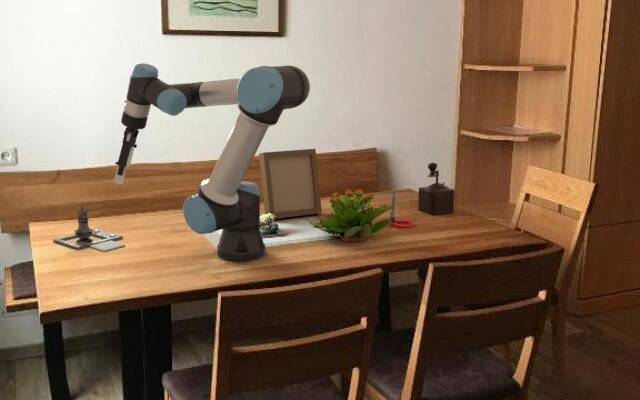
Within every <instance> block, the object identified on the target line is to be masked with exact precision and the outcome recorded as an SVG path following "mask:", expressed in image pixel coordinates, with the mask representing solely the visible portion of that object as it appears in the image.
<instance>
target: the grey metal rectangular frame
mask: <svg viewBox="0 0 640 400" xmlns="http://www.w3.org/2000/svg"><path fill="white" fill-rule="evenodd" d="M92 236H93V237H96V238H99V239H100V240H99V239H98V240H95V241H92V242H89V243H82V244H80V245H79V244H77V243H73V242H70V241H68V240H71V239H76V238H78V237H77V236H76V234H75V233H73V234H71V235H66V236H62V237H57V238H53V239H52V241H53V243H57V244H59V245H63V246H66V247H69V248H72V249H74V250H77V251H79V250H82V249H87V248H91V247H90V246H91V245H94V244H98V243H102V242H106V241H110V240H111V241H117V240H121V239H123V238H124V237H123V235H121V234H118V233H114V232H111V231H110V232H109V231H106V230H103V229H99V228H96V229H93V231H92V235H91V237H92Z"/></svg>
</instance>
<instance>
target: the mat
mask: <svg viewBox="0 0 640 400" xmlns="http://www.w3.org/2000/svg"><path fill="white" fill-rule="evenodd" d="M122 247H126V244H124V243H121V242H117V241H116V240H114V241H111V240H110V241H106V242H102V243H98V244H94V245H91V246H90V247H89V248H92V249H95V250H98V251H100V252H103V253H105V252H108V251H112V250H117V249H119V248H122Z"/></svg>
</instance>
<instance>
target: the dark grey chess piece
mask: <svg viewBox="0 0 640 400" xmlns="http://www.w3.org/2000/svg"><path fill="white" fill-rule="evenodd" d="M77 217H78V218H77V219H76V220H77V225H78V226H77V228H76V229H75V230H74V231H73V232H74V234H76V236H77V238H78V239H77V240H76V241H75V243H76V244H77V243H78V244H87V243H91V242H94V240H93V239H92V238H91V237H92V231H93V230H94V229H93V228H90V227H89V218H88V210H87V209H86V208H84V205H81V206H80V208H79V209H78V210H77Z"/></svg>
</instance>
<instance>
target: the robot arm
mask: <svg viewBox="0 0 640 400" xmlns="http://www.w3.org/2000/svg"><path fill="white" fill-rule="evenodd" d="M158 77H159V69H158V68H157V67H155V66H153V65H151V64H149V63H144V62H139V63H135V64H134V65H133V67H132V71H131V73H130V77H129V82H128V87H127V92H126V98H125V99H123V100H122V101H123V103H124V107H123V111H122V116H121V119H120V120H121V121H120V122H121V124H122V125H123V126H124V127H125V129H124V133H123V138H122V145H121V150H120V153H119V156H118V160H117V161H115V165H116V170H115V174H114V175H115V176H114V179H113V183H114V184H118V185H124V181H125V177H126V171H127V167H128V168H130V167H131V163H132V159H133V156H134V152H135V151H134V150H135V149H137V146H138V144H136V143H137V138H138V135H139V133H140V131H139V130H143V129H146V126H147V122H148V118H149V117H148V116H149V115H150V111H151V106H154V107H155V108H157V109H158V110H160V111H161V112H162V113H165V114H167V115H169V116H173V117H175V116H178V115H179V114H181V113H182V112H183V111H184V110H185V109H191V108H204V107H205V108H206V107H214V106H215V107H216V106H217V107H218V106H229V105H230V106H233V105H237V108H238V110H239V115H238V116H237V118H236V120H235V123H234V125H233V127H232V129H231V131H230V134H229V136H228V138H227V139H226V142H225V144H224V146H223V149H222V150H221V153H220V155H219V157H218V158H217V162H216V164H215V166H214V167H213V170H212V173H211V174H210V176H209V178H207V179H204V180H202V182H201V183H200V186H199V188H198V190H197V192H196V193H195V194H191V195H190V196H189V197H187V198H186V199H185V200H184V202H183V206H182V212H183V216H184V221H185V222H186V224H187V226H188V227H189V229H191V230H192V231H193V232H194V233H196V234H199V235H208V234H213V233H214V232H217V231H221V233H220V237H219V241H218V244H217V247H216V255H217V257H218V258H220V259H223V260H226V261H234V262H245V261H246V262H247V261H253V260H257V259H261V258H263V257H265V255H266V253H267V252H266V249H267V247H266V244H265V242H264V238H263V236H262V235H263V234H262V231H261V218H260V217H261V214H260V213H261V202H260V201H261V194H260V186H259V185H258V184H257V183H256V182H253V181H247V180H244V178H245V176H246V174H247V171H248V169H250V165H251V163H252V162H253V159H254V158H255V155H256V153H257V151H258V149H259V148H260V145H261V144H262V141H263V140H264V137H265V135H266V134H267V131H268V129H269V128H270V127H272V126H275V125H277V123H278V121H279V119H280V118H281V116H282V114H283V111H284V110H288V109H289V110H290V109H294V108H298V107H299V106H301V105H302V104H304V102H306V100H307V99H308V97H309V94H310V91H311V84H310V79H309V78H308V76H307V74H306V72H304V70H302V69H301V68H299V67H298V66H294V65H279V66H278V65H276V66H275V65H274V66H269V65H261V66H257V67H254V68H251V69H248V70H247V71H246V72H245V73H243V74H242V75H241V77H239V78H238V77H237V78H229V79H221V80H218V79H217V80H209V81H207V80H206V81H198V82H197V81H196V82H186V83H172V84H168V83H166V82H164V81H163V80H161V79H160V78H158Z"/></svg>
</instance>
